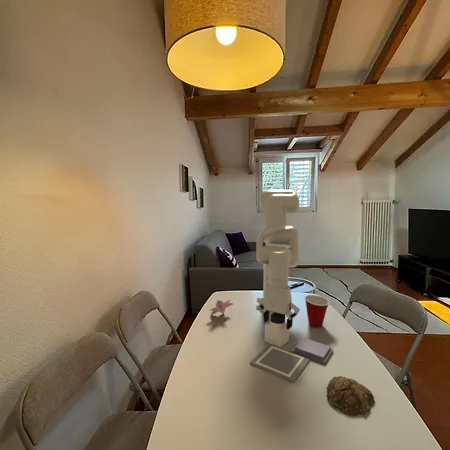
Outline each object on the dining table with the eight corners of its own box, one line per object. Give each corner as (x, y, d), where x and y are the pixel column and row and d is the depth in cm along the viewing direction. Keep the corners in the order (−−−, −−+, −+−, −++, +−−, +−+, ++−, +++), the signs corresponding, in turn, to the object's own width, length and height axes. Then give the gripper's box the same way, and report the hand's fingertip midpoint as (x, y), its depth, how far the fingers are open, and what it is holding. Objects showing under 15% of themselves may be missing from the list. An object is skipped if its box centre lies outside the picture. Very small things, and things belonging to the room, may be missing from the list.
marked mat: (249, 363, 96) (249, 361, 96) (268, 345, 107) (268, 343, 107) (293, 382, 87) (293, 380, 87) (309, 360, 98) (309, 358, 98)
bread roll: (333, 378, 89) (334, 364, 89) (376, 396, 81) (378, 381, 81) (318, 402, 79) (319, 385, 79) (366, 425, 72) (367, 407, 71)
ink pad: (291, 352, 103) (292, 347, 103) (301, 341, 111) (302, 336, 111) (324, 364, 96) (325, 359, 96) (333, 351, 104) (333, 346, 104)
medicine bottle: (289, 340, 111) (290, 312, 110) (279, 348, 106) (280, 318, 104) (274, 334, 116) (274, 307, 114) (264, 341, 111) (264, 312, 109)
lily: (237, 316, 136) (231, 296, 138) (237, 317, 124) (230, 296, 127) (213, 324, 135) (207, 304, 138) (211, 326, 124) (205, 304, 126)
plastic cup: (329, 332, 118) (330, 305, 116) (302, 328, 121) (303, 301, 120) (328, 321, 128) (329, 296, 126) (304, 317, 131) (305, 293, 130)
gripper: (254, 280, 110) (253, 322, 111) (296, 288, 100) (294, 334, 101) (263, 276, 116) (262, 316, 117) (303, 283, 106) (302, 327, 107)
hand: (277, 324), depth 109 cm, fingers open, 9 cm apart
